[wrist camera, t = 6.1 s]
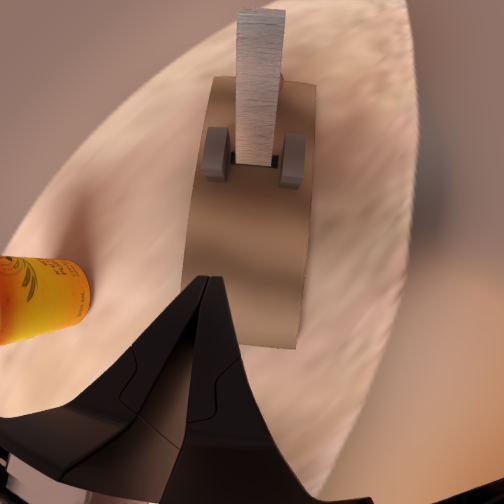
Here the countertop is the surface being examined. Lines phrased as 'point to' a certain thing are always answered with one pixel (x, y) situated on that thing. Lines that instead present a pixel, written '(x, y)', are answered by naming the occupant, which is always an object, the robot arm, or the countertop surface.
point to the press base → (255, 215)
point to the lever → (257, 85)
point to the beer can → (40, 297)
